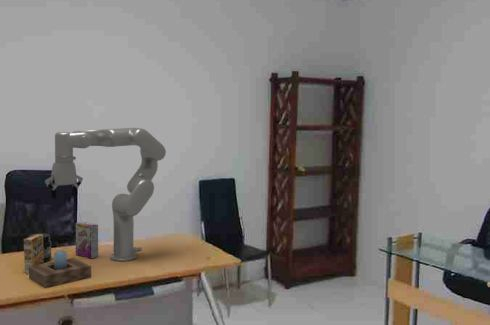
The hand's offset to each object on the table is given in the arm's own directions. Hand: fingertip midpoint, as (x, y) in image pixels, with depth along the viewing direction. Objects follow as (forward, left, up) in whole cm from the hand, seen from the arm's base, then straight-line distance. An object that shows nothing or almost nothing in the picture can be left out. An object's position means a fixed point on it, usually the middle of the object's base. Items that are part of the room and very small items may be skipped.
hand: (64, 197), depth 222 cm
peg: (+8, +12, -31) cm, 34 cm away
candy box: (+12, -5, -32) cm, 35 cm away
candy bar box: (-16, -10, -32) cm, 38 cm away
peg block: (+8, +12, -32) cm, 35 cm away
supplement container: (+4, -18, -32) cm, 37 cm away
